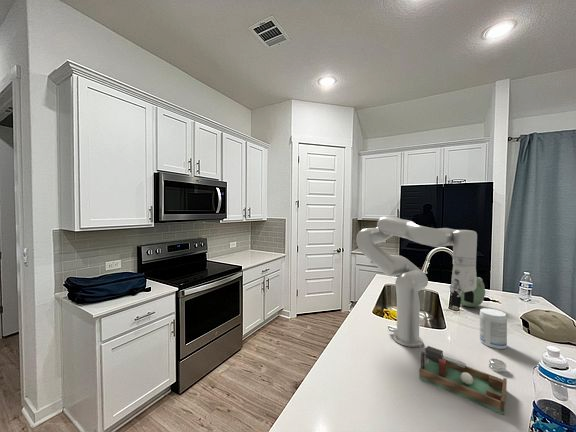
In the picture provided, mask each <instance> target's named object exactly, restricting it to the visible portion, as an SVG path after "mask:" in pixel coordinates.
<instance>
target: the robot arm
mask: <svg viewBox="0 0 576 432" xmlns="http://www.w3.org/2000/svg"><path fill="white" fill-rule="evenodd" d="M393 236H395V237H400V238H403V239H407V240H408V241H412V242H414V243H417V244H419V245H423V246H424V245H425V246H429V247H433V248H444V247H448V246H451V247H452V265H453V266H452V274H451V282H450V283H451V284H450V285H449V291H450V296H451V298H450V299H451V300H450V305H451V306H453V307H456V308H459V309H460V308H461V307H462V304H461V297H460V295H461V293H462V291H463V292H464V301H466V302H470V303H474V292H475V291H474V290H475V289H476V288H477V277H478V276H477V247H478V233H477V231H475V230H469V229H454V228H449V227H442V228H441V227H440V228H434V227H429V226H424V225H419V224H416V223H415V222H414V221H412V220H409V219H403V218H400V217H397V216H394V215H393V216H392V215H391V216H389V215H388V216H382V217H380V218H379V219H378V221H377V223H376V227H369V228H367V227H366V228H363V229H361V230H359V231H358V232H357V234H356V245H357V247H358V250H359V251H360V252H361V253H362V254H363V255H364V256H365V257H366V258H368V259H369V261H371V262H372V264H374V265H375V266H376V267H377V268H378V269H379V270H380V271H381V272H383V274H385V275H386V276H388V277H396V276H397V277H396V279H395V285H394V287H395V293H396V326H394V325H391V324H388V325H387V330H388V331H389V332H392V333H393V334H392V339H393V340H394V341H395V342H396V343H398V344H399V345H402V346H405V347H409V348H419V347H422V346H423V344H424V340H423V339H422V337H421V336H420V314H421V313H420V312H421V309H420V307H421V306H420V304H421V303H420V297H419V291H421V290H423V289H425V288H427V286H428V284H429V279H428V277H427V275H426V274H425V272H423V270H421V269H420V268H419V267H417V265H415V264H414V263H413V262H411V261H410V260H409V259H408V258H406V257H404V256H402V255H398V254H397V255H392V254H390V253H388V252H387V251H386V250H385V249H383V248H382V247H380V246H379V245H377V244H381V243H383V242H385V241H386V240H389V239H390V238H392V237H393ZM476 276H477V277H476ZM458 288H459V289H458ZM455 290H456V291H455ZM457 291H459V292H458V293H457Z"/></svg>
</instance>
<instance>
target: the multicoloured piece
mask: <svg viewBox="0 0 576 432" xmlns="http://www.w3.org/2000/svg"><path fill="white" fill-rule="evenodd" d="M424 352H425V360H426V359H427V360H428V361H429V360H432V361H434V362H437V363H439V374H440V375H442V376H445V377H446V374H447V366H448V362H450V363H453V364H456V365H458V366H461V367H464V368H465V367H466V366H467V365H466V363H465V362H462V361H460V360H457V359H455V358H454V359H453V358H451V357H449V356H445V355H444V350H441V349H438V348H436V347H433V346H430V345H427V346H426V347H425V351H424Z"/></svg>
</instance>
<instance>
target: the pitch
mask: <svg viewBox="0 0 576 432" xmlns="http://www.w3.org/2000/svg"><path fill="white" fill-rule="evenodd" d="M425 360H426V358H425V351H422V352H421V353H420V368H419V373H418V374H419V375H418V377H419V379H420V380H421V381H424V382H426V383H429V384H431V385H433V386H436V387H438V388H440V389H443V390H445V391H447V392H449V393H452V394H454V395H457V396H459V397H460V398H463V399H466V400H468V401H470V402H473V403H475V404H477V405H480V406H481V407H484V408H486V409H488V410H491V411H492V412H496V413H498V414H500V415H502V416H505V412H506V411H505V409H506V408H505V407H506V398H507V387H508V386H507V383H508V381H507V378H505V377H503V378H501V377H498V376H495V375H492V374H489V373H486V372H484V371H481V370H478V369H475V368H473V367H470V366H467V365H466V367H465V368H464V367H461V366H458V365H456V364H453V363H450V362H448V366H447V374H446V377H445V376H442V375H440V374H439V363H437V362H434V361H432V360H429V359H428V361H427V363H426V362H425ZM425 363H426V364H425ZM463 372H467V373H469V374H470V375H471V376H472V377H473V383H472V384H471V385H467V384H465V383H463V382H462V380H461V377H460V376H461V374H462V373H463Z"/></svg>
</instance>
